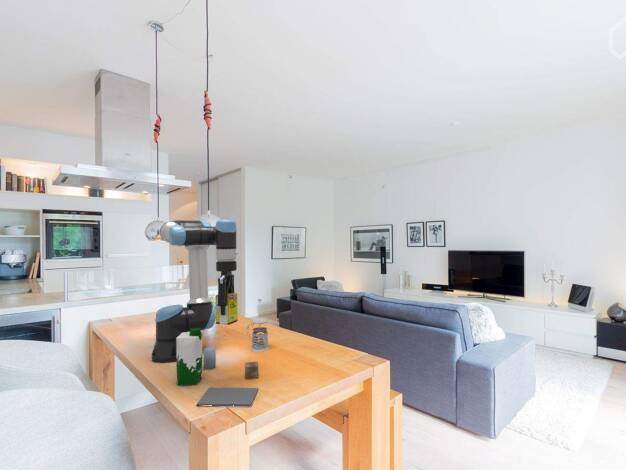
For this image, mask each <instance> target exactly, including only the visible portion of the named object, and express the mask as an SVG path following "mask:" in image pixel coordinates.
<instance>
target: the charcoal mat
mask: <svg viewBox="0 0 626 470" xmlns="http://www.w3.org/2000/svg"><path fill="white" fill-rule="evenodd" d="M258 392H259V388H258V387H208V388H207V389H206V391H205V392H204V394H203V395H202V396H201V397H200V399H199V400H198V401H197V403H196V406H197V405H212V406H211V407H217V406H233V405H234V406H251V405H252V406H253V404H254V401H255V399H256V397H255V396H257V394H258ZM252 403H253V404H252ZM252 406H251V407H252Z"/></svg>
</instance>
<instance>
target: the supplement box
mask: <svg viewBox="0 0 626 470" xmlns="http://www.w3.org/2000/svg"><path fill="white" fill-rule="evenodd" d="M217 304H218V293H217V294H215V307H216V320H215V324H216V325H221V324H220V306H217ZM227 306H228V324H225V325H226V326H230V325H233V324H235V323H237V322H238V316H239V315H238V314H239V313H238V292H236V293H235V292H234V293H228V295H227Z"/></svg>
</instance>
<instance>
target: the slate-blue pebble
mask: <svg viewBox="0 0 626 470" xmlns="http://www.w3.org/2000/svg"><path fill="white" fill-rule="evenodd" d="M216 354H217V347H215V346H207V347H204V348H202V369H204V370H205V371H207V370H208V371H209V370H210V371H211V370H213V369H216V367H217V365H216V363H217V359H216V357H217V355H216Z"/></svg>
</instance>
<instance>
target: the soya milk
mask: <svg viewBox="0 0 626 470" xmlns="http://www.w3.org/2000/svg"><path fill="white" fill-rule="evenodd" d="M176 342H177V361H176V381H177V383H176V384H177V385H179V386H197V385H198V384H197V383H199V381H200V380H201V379H202V374H203V373H202V372H203V331H202V330H201V328H192V329H190V332H184V333H181V334H180V335H179V336H178V337H177V338H176ZM196 384H197V385H196ZM177 385H176V386H177Z"/></svg>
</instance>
